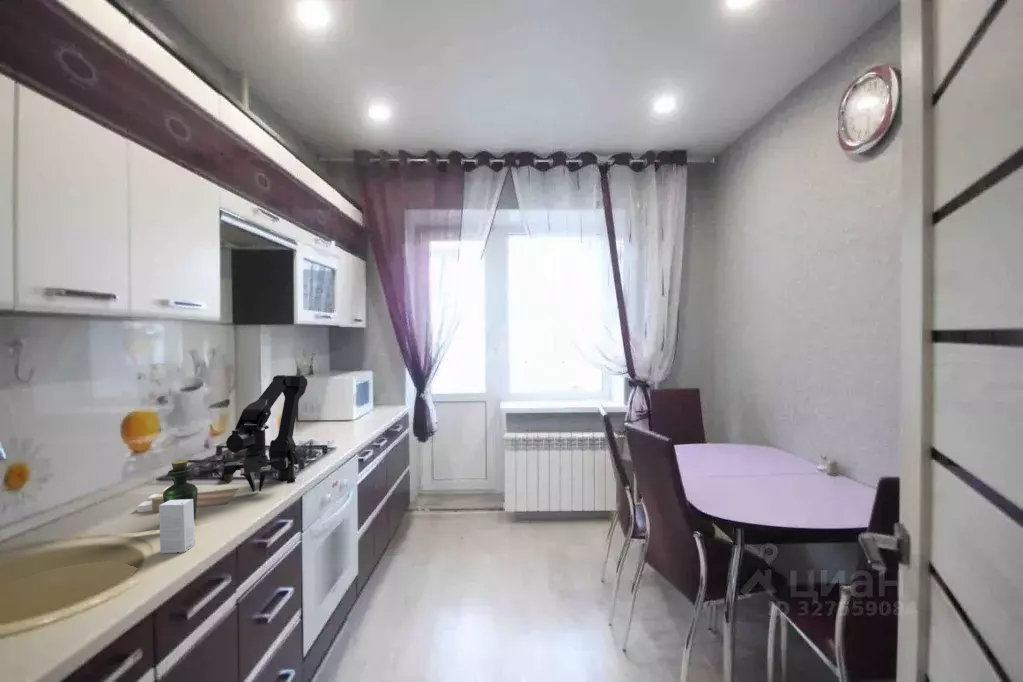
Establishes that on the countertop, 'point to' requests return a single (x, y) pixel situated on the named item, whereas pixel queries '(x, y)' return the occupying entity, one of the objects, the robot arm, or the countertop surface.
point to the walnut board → (215, 497)
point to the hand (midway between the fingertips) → (257, 491)
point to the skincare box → (176, 526)
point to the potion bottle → (181, 484)
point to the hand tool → (228, 478)
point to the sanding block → (158, 500)
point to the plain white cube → (152, 497)
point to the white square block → (145, 506)
